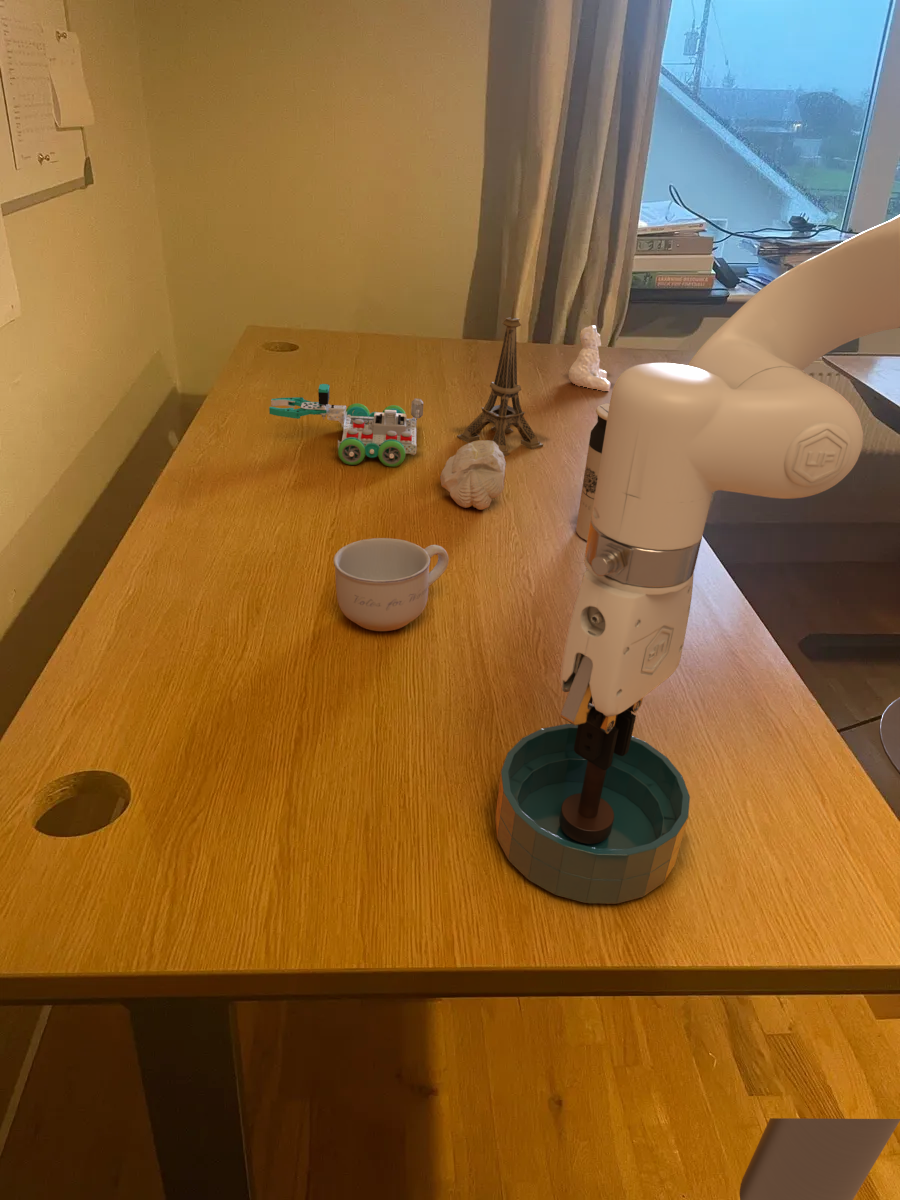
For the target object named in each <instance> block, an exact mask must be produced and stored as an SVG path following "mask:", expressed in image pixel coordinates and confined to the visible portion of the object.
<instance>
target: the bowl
mask: <svg viewBox="0 0 900 1200" xmlns="http://www.w3.org/2000/svg"><path fill="white" fill-rule="evenodd" d="M577 729H578V725H573V724H571V723H563V724H558V725H553V726H547V727H542V728H540V729H538V730H536V731H533V732H531V733H530V734H528V735H526V736H524V737H521V738H520V739H519V740H518V742H516V744H515V745H514V746H513V747H512V748H511V749H509V751H508V752H507V753H506V756H505V758H504V762H503V763H502V764H503V765H502V766H501V767H502V768H501V770H500V776H499V785H498V792H497V801H496V809H495V816H494V821H495V829H496V831H495V833H496V838H497V842H498V843H499V845H500V848H501V849H502V851H503V853H504V854H505V857H506V858H507V860H508V862H509V863H510V864H511V865H512V866H514V867H515V869H516V870H518V871H519V872H520V874H522V875H523V876H524V878H526V879H527V880H528V881H529V882H531V883H533V884H535V885H537V886H539V888H541V889H544V890H546V891H547V892H549V893H551V894H552V895H555V896H559V897H562V898H565V899H568V900H573V901H577V902H580V903H584V904H611V905H612V904H613V905H614V904H617V905H618V904H621V903H626V902H629V901H633V900H636V899H637V900H638V899H639V898H643V897H645V896H646V895H648V894H650V893H651V892H653V891H654V890H656V889H657V888H658V887H660V886H661V885H663V884H664V883H665V881H666V880H667V878H668V877H669V875H670V873H671V872H672V870H673V868H674V867H675V866H676V863H677V859H678V855H679V851H680V848H681V845H682V841H683V837H684V834H685V830H686V827H687V823H688V820H689V816H690V815H689V813H690V802H691V796H690V793H689V791H688V787H687V785H686V782H685V779H684V776H683V775H682V773H681V772H680V771H679V770H678V769H677V768H676V766H675V765H674V764H673V763H672V761H671V760H670V758H668V757H667V756H666V755H665V754H663V753H662V752H660V750H658V749H657V748H655V747H654V746H652V745H651V744H649V742H647V741H645V740H643V739H640V738H638V737H636V736H633V735H632V737H631V741H630V746H629V750H628V753H626V754H625V755H624V756H619V755H617V754H615V753H613V758H612V763H611V766H610V767H609V768H608V769H607V770H606V775H605V779H604V784H603V789H602V794H601V798H602V799H603V800H605V801H606V802H607V803H608V804H609V805H610V806H611V808H612V810H613V812H614V821H613V825H612V830H611V833H610V835H609V836H608V837H607V838H606V839H605V840H604V841H602V842H599V843H594V844H586V843H581V842H578V841H575V840H573V839H572V838H570V837H569V836H567V835H566V834H565V833H564V832H563V830H562V829H561V826H560V823H559V818H560V812H561V807H562V804H563V802H564V800H565V799H566V798H568V797H569V796H571V795H574V794H579V793H582V788H583V782H584V777H585V772H586V767H587V762H588V760H586V759H584V758H583V757H581V756H579V755H578V754H576V753H575V751H574V745H575V740H576V734H577Z"/></svg>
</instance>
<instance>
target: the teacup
mask: <svg viewBox="0 0 900 1200" xmlns="http://www.w3.org/2000/svg"><path fill="white" fill-rule="evenodd" d="M435 555H437V557H438V558H437V562H436V564H435V566H433V568H432V569H431V570H430V565H431V559H432V557H433V556H435ZM448 565H449V554H448V552H447V551H446V549H445V548H444V547H443V546H441V545H439V544H430V545H428V546H426V547H425V548H423V547H421V546H420V545H418V544H416V543H414V542H411V541H408V540H405V539H400V538H391V537H390V538H389V537H375V538H366V539H361V540H357V541H353V542H351V543H349V544H346V545H344V546H343V547H341V548H339V550H337V552H336V553H335V554H334V556H333V566H334V572H335V575H334V576H335V577H334V578H335V591H336V599H337V604H338V607H339V609H340V611H341V612H342V614H343V615H344V616H345V617H346V618H347V619H349V620H350V621H351V622H353V623H355V624H356V625H358V626H359V627H361V628H363V629H366V630H369V631H372V632H373V631H374V632H390V631H396V630H399V629H402V628H404V627H405V626H407V625H409V624H410V623H411V622H413V621H415V620H416V619H417V618H418V617H419V616H420V615H421V614H422V613H423V612H424V610H425V608H426V607H427V602H428V597H429V588H430V586H431V585H433V584H434V583H435V582H436V581H437V580H438V579H439V578H440V577H442V575H443V574H444V573H445V572H446V570H447V568H448Z"/></svg>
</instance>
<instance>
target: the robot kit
mask: <svg viewBox="0 0 900 1200" xmlns="http://www.w3.org/2000/svg"><path fill="white" fill-rule="evenodd" d="M317 392H318V394H317V396H318V401H310V400H307V399H304V397H302V396H300V397H299V396H298V397H297V396H295V397H293V396H292V397H276V398H271V400H270V401H271V402H270V404H271V405H270V406H269V407H268V412H269V415H272V416H277V417H283V418H290V419H297V420H300V419H301V417H304V416H309V415H313V416H314V415H315V416H316V415H319V416H321V418H322V420H325V418H326V419H327V420H328V421H338V422H339V424H340V425H341V428H342V431H343V432H342V437H341V441H340V440H339V439H337V455H338V458H339V459H340V461H341V462H342V463H344V464H345V465H347V466H357V465H360V464H361V463H362V462H363V461H364V459H365V457H368V458H370V459H375V458H377V457H378V460H379V462H380V463H381V464H382V465H384V466H385V467H388V468H396V467H398V466H400V465H402V464H403V462H404V461H405V459H406V454H410V455H411V456H415V455H416V454H417V449H418V448H417V446H418V445H417V444H418V443H417V421H418V419H420V418H422V417H423V416H424V401H423V400H422V399H421V398H414V399H413V400H411V407H410V409H411V410H410V416H411V417H412V418H407V414H406V411H405V410H404V409H403V408H402V407H401V406H400V405H395V404H391V405H388V406H386V407H385V408H384V409H383V410H382V412H378V411H372V412H370V409H368V407H367V406H365V405H364V404H362V403H360V402H359V403H358V402H356V403H352V404H350V405H349V406H348V407H347V406H346V404H345V405H339V404H337V405H335V404H329V401H330V384H328V383H320V384H319V385H318V390H317ZM279 406H283V407H279ZM284 406H285V407H284ZM296 407H299V408H296Z"/></svg>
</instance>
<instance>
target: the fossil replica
mask: <svg viewBox="0 0 900 1200" xmlns="http://www.w3.org/2000/svg"><path fill="white" fill-rule="evenodd" d="M506 467H507V462H506V459H505V456H504V455H503V453H502V452H501V451H500V450H499V446H498V445H497V444H496V443H495V442H494V441H493V440H489V439H486V440H485V439H484V440H482V439H479V440H475V441H471V442H467V443H466V444H463V445H462V446H461V447H460V448H458V449H457V450H456V452H455V454H454V455H452V456H450V457H448V459H447V460H446V462H445V464H444V467H443V468H442V470H441V473H440V476H439V479H440V482H441V484H440V487H442V488H443V489H445V490H446V491H447V492H449V495H450V498H451V499H452V500H453V501H454V502H455V503H456V504H457V505H458V506H460V507H462V508H465V509H466V508H467V509H468V508H470V507H473V508H476V510H481V511H482V510H485V509H488V508H490V506H491V502H492V501H493V499H495V498H497V497H499V496H500V495H501V494H502V493H503V491H504V489H505V488H504V487H505V480H506Z"/></svg>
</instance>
